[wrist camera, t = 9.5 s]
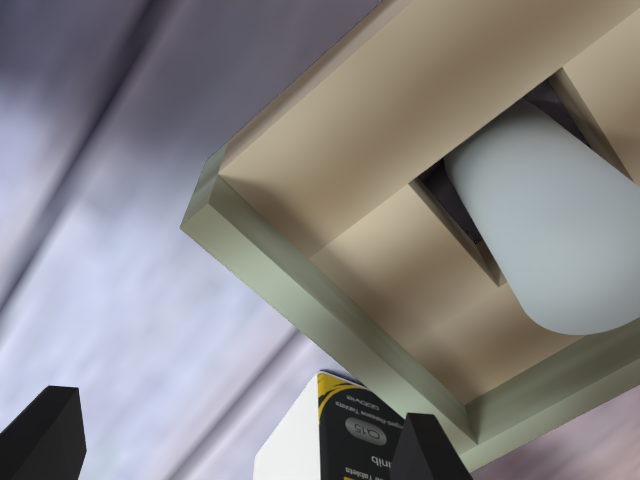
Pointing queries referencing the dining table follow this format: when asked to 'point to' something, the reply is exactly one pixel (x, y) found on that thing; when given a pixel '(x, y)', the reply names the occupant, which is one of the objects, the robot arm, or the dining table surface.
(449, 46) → the socket block
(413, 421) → the robot arm
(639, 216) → the peg
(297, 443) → the medicine box
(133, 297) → the dining table surface
